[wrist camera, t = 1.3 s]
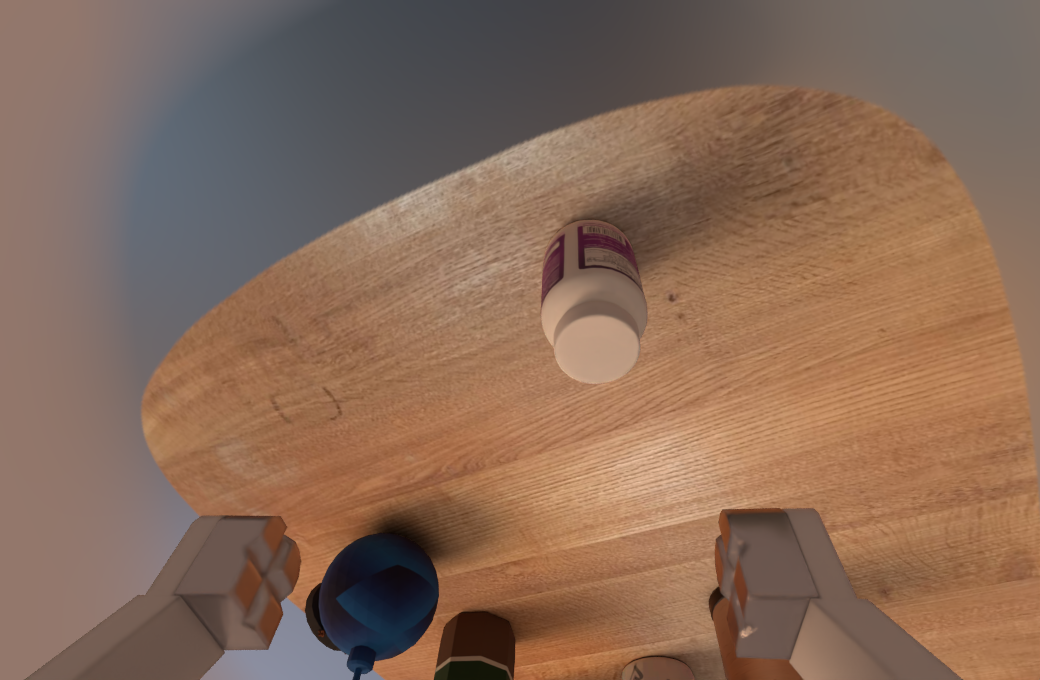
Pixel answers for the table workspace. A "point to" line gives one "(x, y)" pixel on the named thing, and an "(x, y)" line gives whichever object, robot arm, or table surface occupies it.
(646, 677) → the mug
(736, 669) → the copper canister
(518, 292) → the table surface
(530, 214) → the table surface
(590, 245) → the pill bottle
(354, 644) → the bomb
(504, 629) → the beer bottle
